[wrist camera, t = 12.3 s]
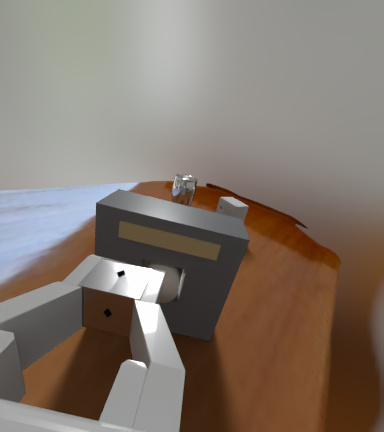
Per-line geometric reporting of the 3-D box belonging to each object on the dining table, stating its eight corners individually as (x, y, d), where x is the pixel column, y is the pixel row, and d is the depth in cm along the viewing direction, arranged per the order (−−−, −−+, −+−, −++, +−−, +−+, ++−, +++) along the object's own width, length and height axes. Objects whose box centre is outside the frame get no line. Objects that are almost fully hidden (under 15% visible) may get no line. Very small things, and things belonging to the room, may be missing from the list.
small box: (239, 235, 65) (249, 206, 61) (227, 237, 62) (237, 206, 58) (223, 223, 71) (232, 196, 67) (211, 225, 68) (220, 196, 63)
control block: (209, 343, 29) (250, 241, 22) (91, 315, 29) (94, 204, 22) (209, 308, 35) (242, 219, 28) (111, 285, 35) (119, 189, 28)
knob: (174, 306, 26) (181, 277, 24) (137, 297, 26) (141, 267, 24) (184, 258, 36) (190, 234, 34) (157, 251, 36) (162, 228, 34)
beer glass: (187, 229, 61) (198, 182, 55) (165, 224, 60) (174, 177, 54) (187, 219, 67) (198, 177, 61) (167, 215, 66) (176, 172, 61)
